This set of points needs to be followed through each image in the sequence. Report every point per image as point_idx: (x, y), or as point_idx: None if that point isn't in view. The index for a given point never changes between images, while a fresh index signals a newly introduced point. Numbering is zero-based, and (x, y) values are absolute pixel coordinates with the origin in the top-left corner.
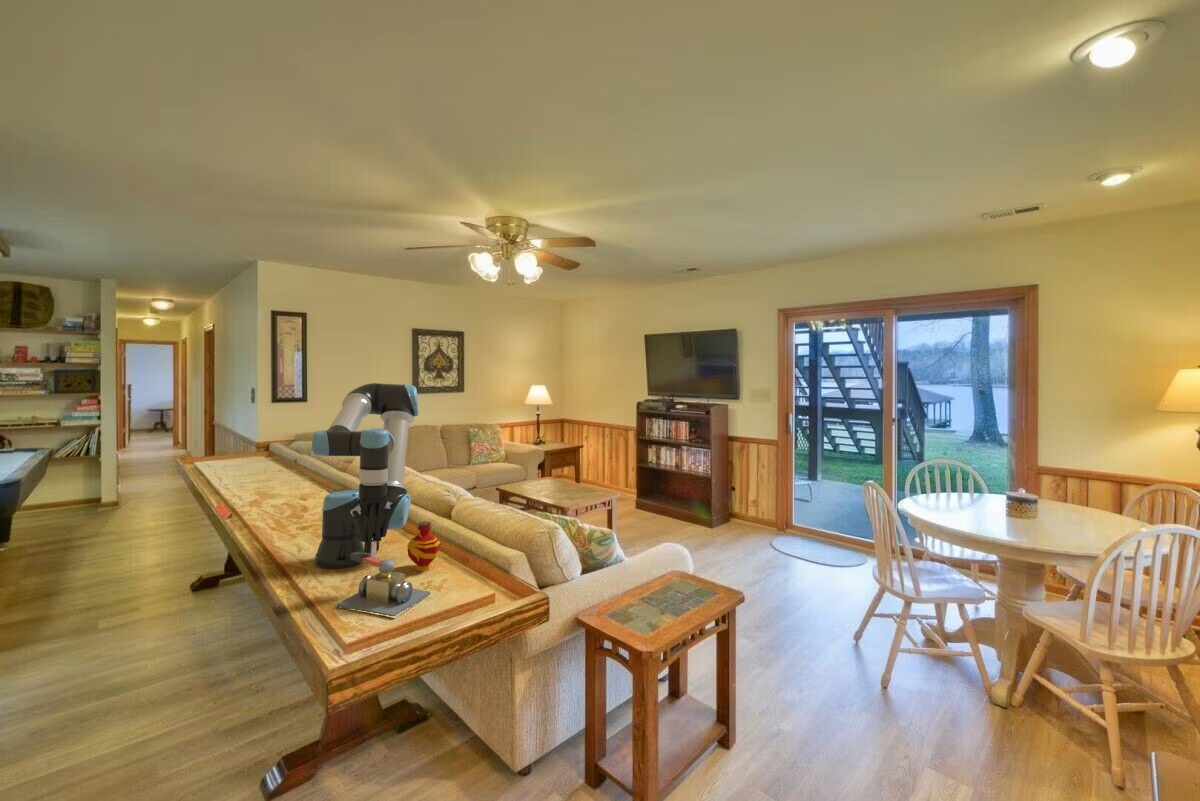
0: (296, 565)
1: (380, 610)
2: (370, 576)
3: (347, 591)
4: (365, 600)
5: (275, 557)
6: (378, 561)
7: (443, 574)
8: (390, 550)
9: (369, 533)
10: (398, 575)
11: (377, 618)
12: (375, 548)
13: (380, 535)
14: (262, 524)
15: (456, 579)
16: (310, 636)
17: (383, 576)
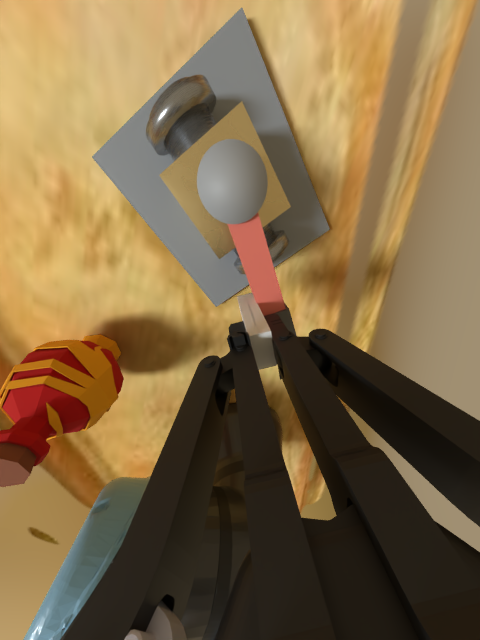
0: (300, 430)
1: (265, 97)
2: None
3: None
4: None
5: (310, 458)
6: (253, 238)
7: (47, 291)
8: (154, 442)
9: (303, 359)
10: (186, 171)
11: (279, 74)
12: (247, 319)
13: (226, 366)
14: None
15: (3, 237)
16: (445, 76)
17: None
